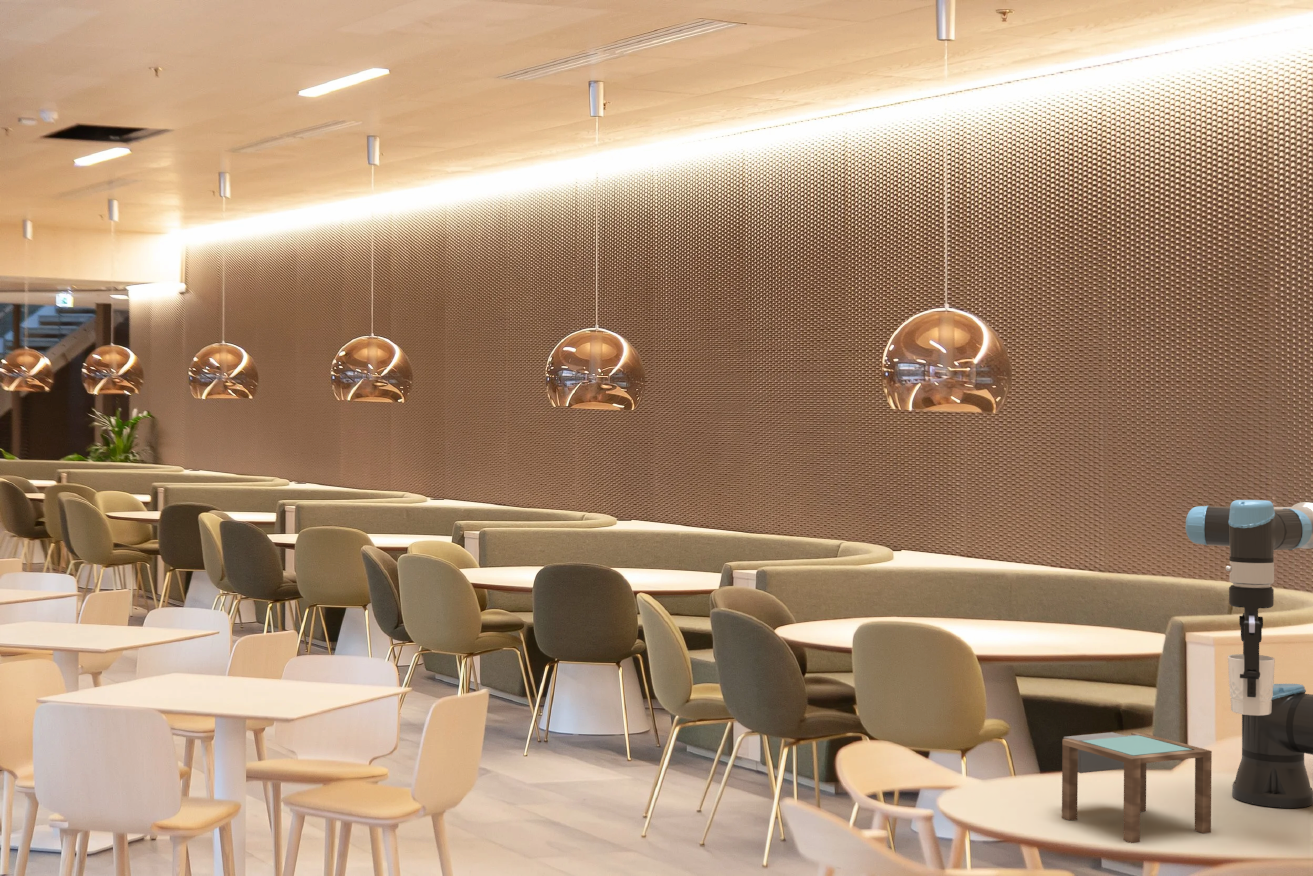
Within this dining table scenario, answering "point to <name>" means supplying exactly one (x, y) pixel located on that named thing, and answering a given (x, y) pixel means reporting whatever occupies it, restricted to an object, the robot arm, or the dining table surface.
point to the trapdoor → (1118, 750)
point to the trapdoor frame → (1138, 781)
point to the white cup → (1237, 683)
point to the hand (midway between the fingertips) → (1250, 710)
